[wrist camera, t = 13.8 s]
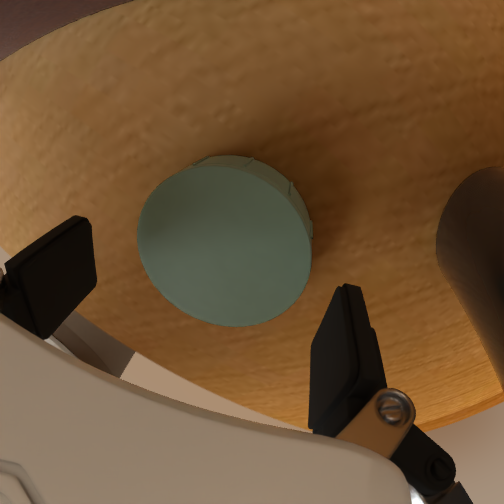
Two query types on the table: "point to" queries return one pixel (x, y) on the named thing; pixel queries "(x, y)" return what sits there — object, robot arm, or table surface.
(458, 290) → the thermos
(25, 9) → the letter holder
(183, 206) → the thermos lid
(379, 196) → the table surface
